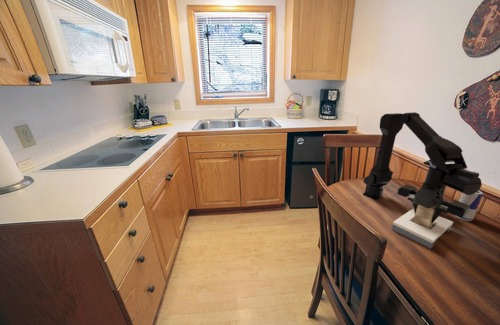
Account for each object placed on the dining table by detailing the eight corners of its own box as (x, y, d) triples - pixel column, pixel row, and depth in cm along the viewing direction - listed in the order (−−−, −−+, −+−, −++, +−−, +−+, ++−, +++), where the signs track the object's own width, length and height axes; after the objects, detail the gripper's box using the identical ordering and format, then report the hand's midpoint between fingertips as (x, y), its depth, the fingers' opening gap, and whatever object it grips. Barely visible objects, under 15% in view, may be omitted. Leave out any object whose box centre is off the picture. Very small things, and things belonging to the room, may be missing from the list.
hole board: (391, 229, 78) (393, 221, 77) (413, 214, 87) (415, 207, 86) (430, 249, 68) (433, 240, 67) (450, 229, 77) (453, 221, 76)
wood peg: (411, 226, 78) (418, 203, 74) (416, 222, 80) (423, 199, 77) (426, 233, 74) (434, 209, 71) (431, 228, 76) (439, 205, 73)
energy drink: (476, 222, 81) (487, 194, 77) (460, 220, 82) (470, 193, 78) (465, 214, 86) (476, 188, 82) (450, 213, 87) (460, 187, 83)
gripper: (394, 177, 74) (385, 214, 79) (465, 199, 59) (448, 243, 65) (409, 170, 80) (399, 205, 85) (477, 188, 65) (460, 230, 70)
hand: (423, 219), depth 76 cm, fingers closed on wood peg, 4 cm apart
